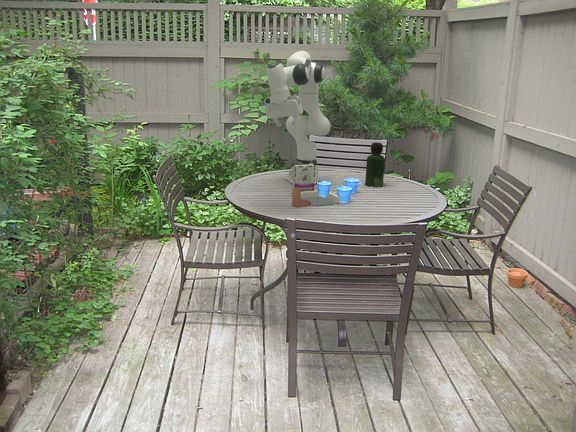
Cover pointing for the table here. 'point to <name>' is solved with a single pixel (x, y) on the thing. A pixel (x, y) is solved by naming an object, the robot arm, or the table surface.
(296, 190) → the angle bracket
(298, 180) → the candy bar box
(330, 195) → the grey tray
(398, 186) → the table surface
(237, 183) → the table surface
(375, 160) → the dark green bottle
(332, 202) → the slate mat
